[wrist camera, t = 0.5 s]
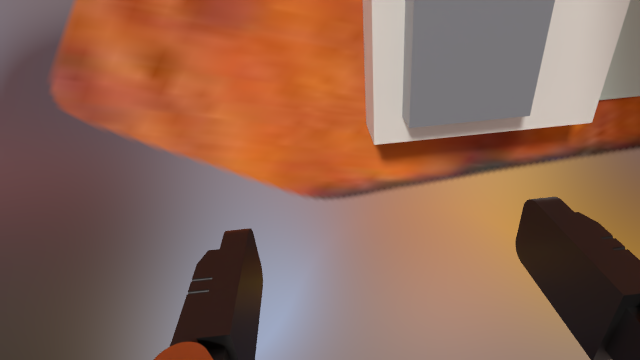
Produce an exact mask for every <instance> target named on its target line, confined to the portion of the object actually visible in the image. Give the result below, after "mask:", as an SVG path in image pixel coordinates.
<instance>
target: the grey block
mask: <svg viewBox="0 0 640 360" xmlns="http://www.w3.org/2000/svg"><path fill="white" fill-rule="evenodd" d="M554 3H555V0H405V28H404V67H403V105H402V117H403V119H404V121H405V122H406V124H407V125H408V127H409V128H416V127H426V126H436V125H445V124H455V123H465V122H475V121H485V120H494V119H504V118H514V117H524V116H530V113H531V109H532V104H533V99H534V95H535V90H536V86H537V81H538V76H539V72H540V67H541V63H542V58H543V53H544V49H545V44H546V40H547V35H548V30H549V26H550V21H551V17H552V12H553V7H554Z"/></svg>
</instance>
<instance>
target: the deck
mask: <svg viewBox="0 0 640 360" xmlns="http://www.w3.org/2000/svg"><path fill="white" fill-rule="evenodd" d="M629 3H630V0H555V3H554V7H553V12H552V17H551V21H550V26H549V30H548V35H547V40H546V44H545V49H544V53H543V58H542V63H541V67H540V72H539V76H538V81H537V86H536V90H535V95H534V99H533V104H532V109H531V113H530V116H524V117H514V118H504V119H494V120H485V121H475V122H465V123H455V124H445V125H436V126H426V127H416V128H409V127H408V125H407V124H406V122H405V121H404V119H403V117H402V105H403V67H404V28H405V0H363V29H364V64H365V99H366V124H367V127H368V130H369V132H370V135H371V138H372V140H373V143H374V145H378V144H388V143H397V142H407V141H417V140H427V139H437V138H447V137H456V136H466V135H476V134H486V133H496V132H506V131H515V130H525V129H535V128H545V127H555V126H565V125H574V124H584V123H592V121H593V118H594V114H595V111H596V108H597V105H598V102H599V99H600V95H601V92H602V89H603V86H604V83H605V79H606V76H607V73H608V70H609V67H610V63H611V60H612V57H613V54H614V51H615V48H616V44H617V41H618V38H619V35H620V32H621V28H622V25H623V22H624V19H625V16H626V12H627V9H628V6H629Z"/></svg>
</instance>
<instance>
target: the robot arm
mask: <svg viewBox="0 0 640 360" xmlns="http://www.w3.org/2000/svg"><path fill="white" fill-rule="evenodd" d="M516 251H517V254H518V257H519V259H520V261H521V263H522V264H523V265H524V267H525V268H526V269H527V271H528V272H529V274H530V275H531V276H532V278H533V279H534V281H535V282H536V284H537V285H538V286H539V288H540V289H541V291H542V292H543V293H544V295H545V296H546V297H547V299H548V300H549V302H550V303H551V305H552V306H553V307H554V309H555V310H556V312H557V313H558V314H559V316H560V317H561V318H562V320H563V321H564V323H565V324H566V326H567V327H568V328H569V330H570V331H571V333H572V334H573V335H574V337H575V338H576V339H577V341H578V342H579V344H580V345H581V346H582V348H583V349H584V351H585V352H586V354H587V355H588V356H589V358H590V359H591V360H640V260H639V259H638V258H637V257H635V256H634V255H633V254H632V253H631V252H630V251H629V250H625V247H624V246H623V245H622V244H621V243H620V242H619V241H618V240H617V239H613V236H612V235H611V234H610V233H609V232H608V231H607V230H605V228H604V227H602V226H601V225H600V224H599V223H598V222H596V221H594V220H592V219H590V218H588V217H587V216H585V215H583V214H581V213H579V212H574V211H572V210H571V209H570V208H569V207H568V206H567V205H566V204H565V203H564V202H563V201H562V200H561V199H559V198H558V197H548V198H539V199H531V200H527V201H526V202H525V204H524V207H523V211H522V215H521V220H520V224H519V229H518V233H517V237H516ZM262 276H263V275H262V268H261V263H260V259H259V255H258V251H257V247H256V243H255V238H254V234H253V231H252V230H251V229H241V230H231V231H225V233H224V236H223V239H222V243H221V247H220V249H219V250H209V251H208V252H207V253H206V254H205V255H204V256H203V258H202V259H201V260H200V261H199V262H198V264H197V266H196V269H195V272H194V275H193V278H192V282H191V284H190V287H189V290H188V295H187V297H186V299H185V303H184V306H183V309H182V312H181V315H180V318H179V321H178V324H177V327H176V330H175V333H174V336H173V339H172V342H171V344H170V347H168V348H167V349H165V350H164V351H162V352H161V353H160V354H159V355H158V356H157V357H155V359H154V360H255V352H256V343H257V334H258V324H259V315H260V307H261V298H262V288H263V277H262Z"/></svg>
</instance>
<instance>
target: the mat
mask: <svg viewBox="0 0 640 360" xmlns="http://www.w3.org/2000/svg"><path fill="white" fill-rule="evenodd" d="M636 96H640V0H630V3H629V6H628V9H627V12H626V16H625V19H624V22H623V25H622V28H621V32H620V35H619V38H618V41H617V44H616V48H615V51H614V54H613V57H612V60H611V63H610V67H609V70H608V73H607V76H606V79H605V83H604V86H603V89H602V92H601V95H600V99H599V100H606V99H616V98H626V97H636Z"/></svg>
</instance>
